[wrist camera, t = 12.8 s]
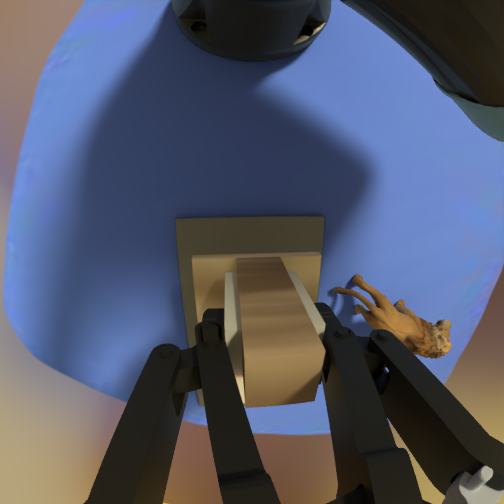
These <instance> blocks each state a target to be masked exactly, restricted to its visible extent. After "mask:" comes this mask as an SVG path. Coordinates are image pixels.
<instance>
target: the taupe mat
mask: <svg viewBox="0 0 504 504" xmlns="http://www.w3.org/2000/svg"><path fill="white" fill-rule="evenodd" d="M324 223H325V217H324V216H236V217H198V218H176V219H175V225H176V239H177V251H178V262H179V273H180V282H181V291H182V300H183V308H184V315H185V323H186V330H187V337H188V344H189V348H191V347H193V346H195V345H196V338H195V330H194V329H195V326H196V325H197V324H198V319H197V310H196V300H195V290H194V279H193V268H192V257H193V255H213V254H252V253H291V252H319V253H320V254H321V255H322V250H323V237H324ZM321 262H322V258H321ZM320 273H321V268H320ZM319 283H320V278H319ZM318 292H319V287H318ZM317 301H318V296H317ZM197 395H198V400H199V405H200V406H205V405H204V399H203V392H202V389H199V390H197ZM243 405H245V403H243Z"/></svg>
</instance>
